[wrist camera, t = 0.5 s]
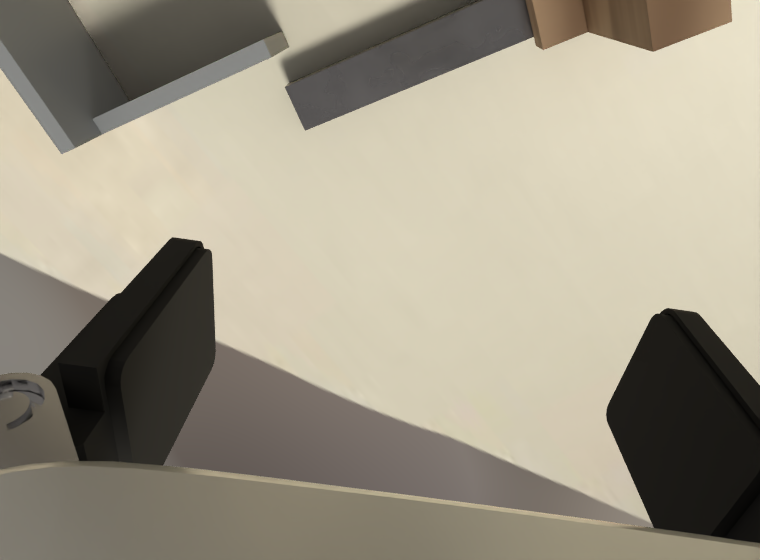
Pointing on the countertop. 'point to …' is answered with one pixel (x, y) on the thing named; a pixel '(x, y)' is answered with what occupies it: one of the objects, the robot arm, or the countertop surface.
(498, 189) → the countertop surface
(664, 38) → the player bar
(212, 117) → the countertop surface
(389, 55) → the rail
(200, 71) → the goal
